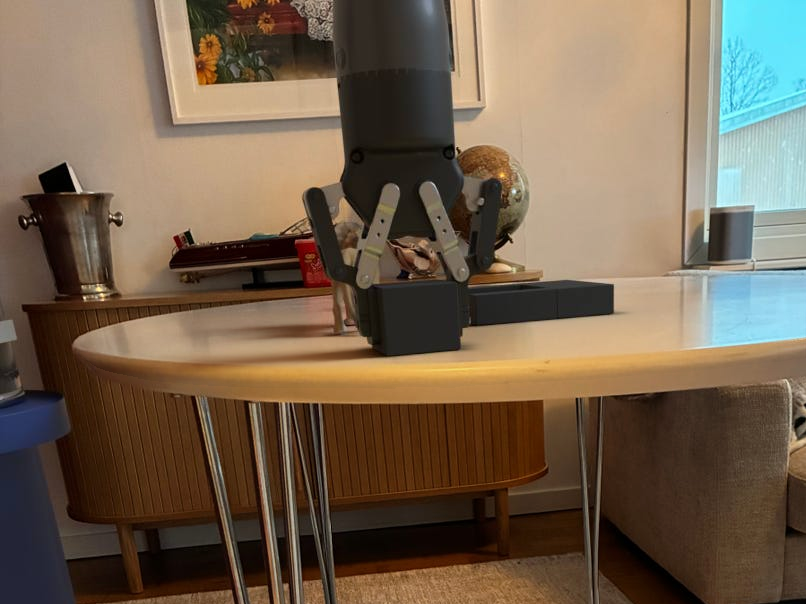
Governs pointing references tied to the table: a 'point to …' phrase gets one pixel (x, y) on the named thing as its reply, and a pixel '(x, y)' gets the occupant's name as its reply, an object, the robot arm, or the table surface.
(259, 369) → the table surface
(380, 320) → the small black block
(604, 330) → the table surface
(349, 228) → the lion figurine
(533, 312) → the big pad
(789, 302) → the table surface
